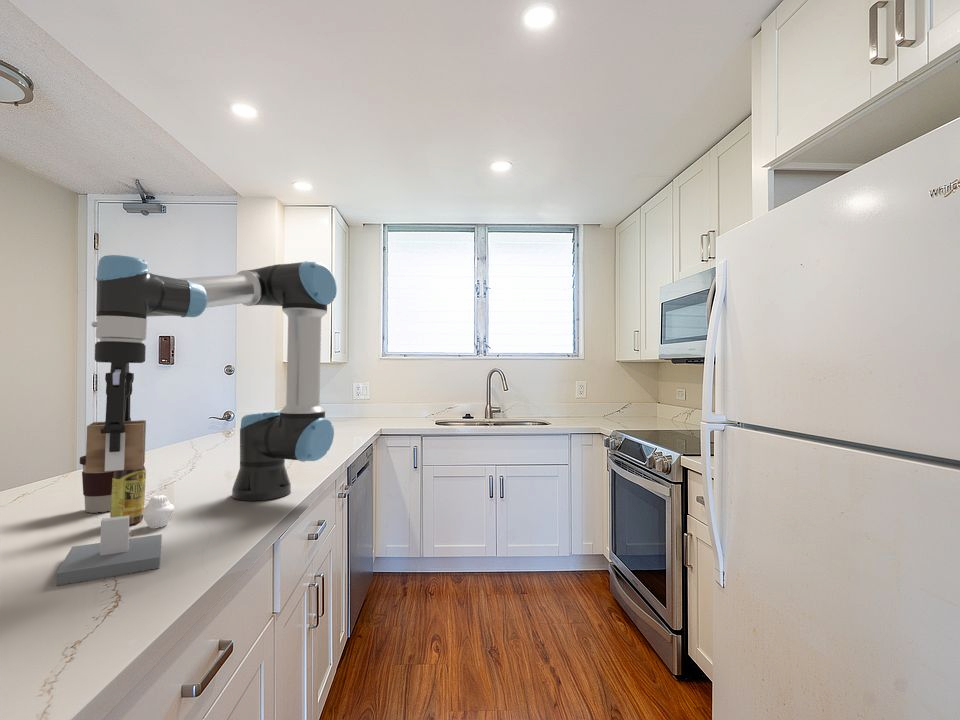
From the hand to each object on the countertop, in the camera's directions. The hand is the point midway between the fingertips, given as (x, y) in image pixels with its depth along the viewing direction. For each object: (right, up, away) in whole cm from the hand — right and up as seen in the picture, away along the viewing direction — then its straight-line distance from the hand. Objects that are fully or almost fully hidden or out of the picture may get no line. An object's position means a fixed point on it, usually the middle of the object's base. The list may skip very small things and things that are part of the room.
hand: (117, 465), depth 90 cm
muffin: (-6, -18, +21) cm, 28 cm away
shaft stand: (0, -17, 0) cm, 17 cm away
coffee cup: (-28, -18, +33) cm, 47 cm away
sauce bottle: (-14, -18, +23) cm, 32 cm away
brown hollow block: (0, 0, 0) cm, 0 cm away
